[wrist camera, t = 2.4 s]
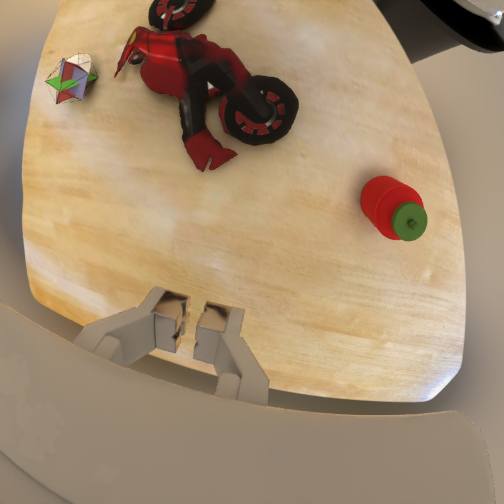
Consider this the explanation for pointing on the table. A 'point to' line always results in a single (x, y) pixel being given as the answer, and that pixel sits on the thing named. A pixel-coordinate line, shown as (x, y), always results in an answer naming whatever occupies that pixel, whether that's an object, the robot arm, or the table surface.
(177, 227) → the table surface
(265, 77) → the toy motorcycle
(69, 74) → the geometric puzzle
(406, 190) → the red green-capped container
